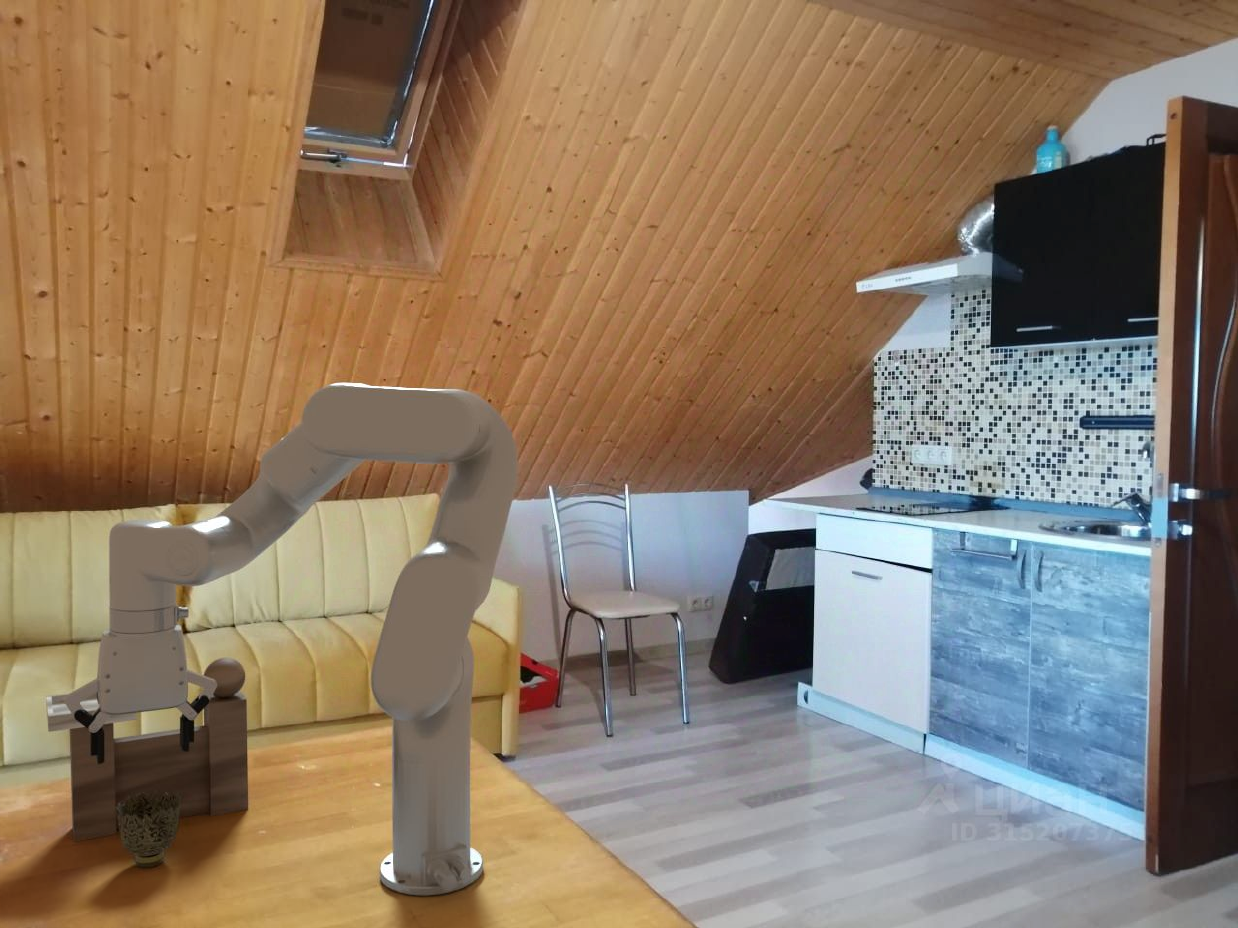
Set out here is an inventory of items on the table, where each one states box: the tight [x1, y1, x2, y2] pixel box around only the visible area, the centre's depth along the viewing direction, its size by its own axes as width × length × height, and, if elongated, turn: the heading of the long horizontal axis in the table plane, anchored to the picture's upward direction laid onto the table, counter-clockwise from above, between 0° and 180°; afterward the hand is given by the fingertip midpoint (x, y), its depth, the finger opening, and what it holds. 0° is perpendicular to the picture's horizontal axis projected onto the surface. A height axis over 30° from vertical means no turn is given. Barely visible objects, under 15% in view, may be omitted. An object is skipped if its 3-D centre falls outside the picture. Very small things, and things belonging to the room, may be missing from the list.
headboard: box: [45, 657, 249, 843], centre depth 141 cm, size 10×25×22 cm, turn 120°
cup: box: [115, 791, 181, 868], centre depth 129 cm, size 8×7×8 cm
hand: (143, 754), depth 128 cm, fingers open, 9 cm apart
